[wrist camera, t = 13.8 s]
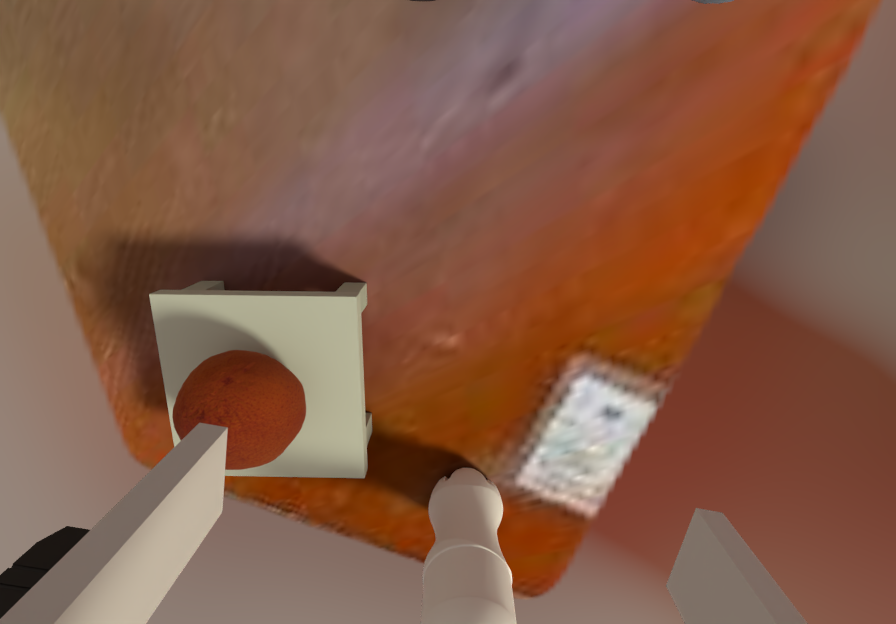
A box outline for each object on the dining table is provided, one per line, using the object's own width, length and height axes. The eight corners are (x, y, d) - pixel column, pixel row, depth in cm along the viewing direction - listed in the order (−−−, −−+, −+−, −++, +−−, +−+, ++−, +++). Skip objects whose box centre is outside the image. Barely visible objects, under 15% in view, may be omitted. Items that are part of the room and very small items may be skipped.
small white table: (195, 275, 45) (148, 294, 38) (371, 277, 44) (356, 296, 38) (217, 432, 49) (179, 474, 42) (377, 435, 49) (364, 478, 42)
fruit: (193, 413, 41) (131, 470, 33) (226, 320, 38) (168, 358, 31) (293, 454, 42) (256, 519, 34) (331, 365, 39) (301, 414, 32)
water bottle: (427, 516, 51) (401, 821, 27) (432, 456, 49) (409, 729, 25) (496, 522, 51) (530, 831, 27) (504, 462, 49) (547, 740, 25)
